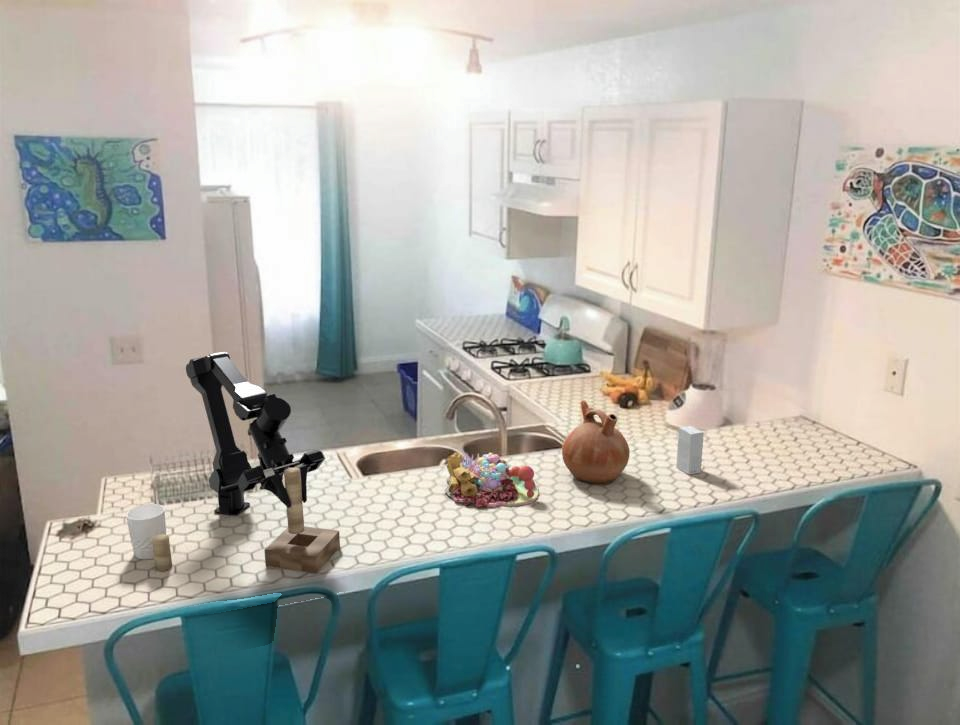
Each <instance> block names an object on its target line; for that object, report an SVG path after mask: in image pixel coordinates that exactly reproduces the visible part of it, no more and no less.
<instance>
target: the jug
mask: <svg viewBox="0 0 960 725" xmlns="http://www.w3.org/2000/svg"><path fill="white" fill-rule="evenodd" d="M580 407H581V408H580V409H581V413H582V418H583V419H582V420H583V422H582V424H580V425H578V426H576V427H575V428H574V429H573V430H572V431H571V432H570V433H569V434H568V435H567V436H566V437H565V439H564V441H563V443H562V444H561V446H562V447H561V448H562V449H561V455H562V460H563V463H564V465H565V467H566V468H567V470H568V471H569V473H570V474H571V475H572V476H573V477H574V478H575V479H576V480H577V481H579V482H581V483H584V484H586V485H593V486H603V485H609V484H611V483H613V482H615V481H616V479H617V478H619V476H620V475H621V474H622V473H623V471H624V470H625V469H626V467H627V465H628V464H629V459H630V455H631V454H630V447H629V444H628V441H627V440H626V438H625V436H624V434H622V432H621V431H620V430H619V429H618V428H616V424H617V422H618V417H617V415H615V414H614V413H609V414H608V415H607V414H606V412H605V411H604V410H602V409H599V408H593V406H589V404H588V402H587V401H586V400H584V399H581V401H580ZM596 415H597V416H598V418H599V419H600V421H597V420H596V419H595V417H594V416H596Z"/></svg>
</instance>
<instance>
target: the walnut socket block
mask: <svg viewBox="0 0 960 725" xmlns="http://www.w3.org/2000/svg"><path fill="white" fill-rule="evenodd" d="M340 538H341V537H340V530H337V529H336V530H335V529H328V528H319V527H312V526H307V525H306V526H305V525H304V531H303V532H302V533H299V534H291V533H289V532H288V527H286V528H285V529H284V530H283V532H281V533H280V534H279V535H278V536H277V537H276V538H275V539H274V540H272V542H271V543H269V545H268V546H266V547H265V548H264V560H265V561H264V562H265V567H267V568H268V567H269V568H274V569H282V570H290V571H296V572H303V573H304V572H305V573H309V574H318V573H319V571H321V569H322V568H323V567H324V566H325V565H326V564H327V562H328V561H329V560H330V559H331V558H332V557H333V555H334V554H335V553H336V552H337V551H338V550H339V548H340V547H341V540H340Z"/></svg>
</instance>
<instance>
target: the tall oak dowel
mask: <svg viewBox="0 0 960 725" xmlns="http://www.w3.org/2000/svg"><path fill="white" fill-rule="evenodd" d="M283 479H284V487H285V489H286V492H287V494H288V497H289V499H290V503H291V507H290V508H288V507H287V506H286V516H287V517H286V518H287V528H288V532H289V533H291V534H299V533H302V532H303V531H304V526H305V521H304V520H305V518H304V504H303V501H302V488H301V473H300V469H299V468H288V469H286V470H284V474H283Z"/></svg>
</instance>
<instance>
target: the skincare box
mask: <svg viewBox="0 0 960 725" xmlns="http://www.w3.org/2000/svg"><path fill="white" fill-rule="evenodd" d="M704 435H705V434H704V431H702V430H700V429H698V428H696V427H694V426H692V425H688V426H682V427H681V426H680V427H679V428H678V437H677V452H676V453H677V454H676V466H675V468H677V470H678V469H679V471H680V470H681V472H684V473H685V474H687V475H694V474H701V472H702V462H703V460H702V459H703V448H704Z"/></svg>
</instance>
